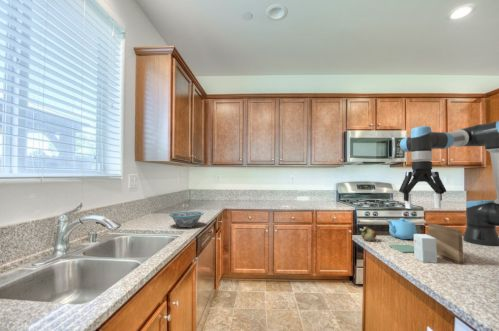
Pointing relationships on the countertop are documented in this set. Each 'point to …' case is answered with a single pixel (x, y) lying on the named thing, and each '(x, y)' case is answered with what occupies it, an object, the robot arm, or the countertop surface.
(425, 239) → the small box
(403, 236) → the teapot
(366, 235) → the onion
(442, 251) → the screen
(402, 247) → the mat
